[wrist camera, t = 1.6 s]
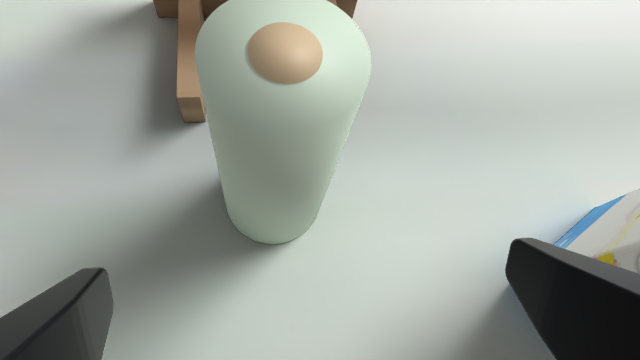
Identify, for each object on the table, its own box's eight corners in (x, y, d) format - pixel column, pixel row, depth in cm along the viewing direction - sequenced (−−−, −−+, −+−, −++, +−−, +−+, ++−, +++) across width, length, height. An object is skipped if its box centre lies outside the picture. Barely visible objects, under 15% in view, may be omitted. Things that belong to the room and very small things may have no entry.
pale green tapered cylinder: (268, 264, 22) (277, 163, 11) (206, 193, 23) (156, 37, 12) (338, 202, 24) (406, 64, 13) (277, 140, 25) (291, -38, 14)
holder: (370, 116, 26) (406, 37, 20) (153, 123, 24) (116, 37, 18) (348, 2, 30) (372, -95, 24) (159, -2, 28) (129, -110, 21)
